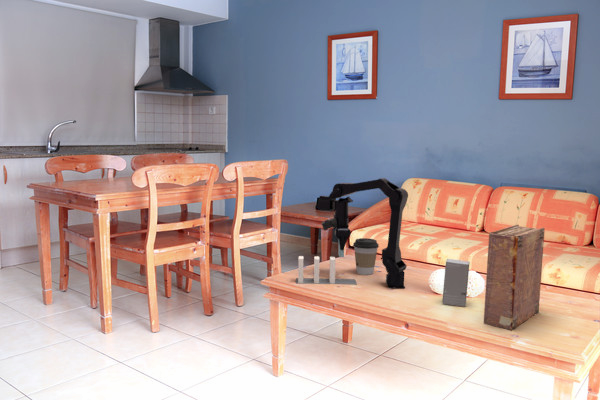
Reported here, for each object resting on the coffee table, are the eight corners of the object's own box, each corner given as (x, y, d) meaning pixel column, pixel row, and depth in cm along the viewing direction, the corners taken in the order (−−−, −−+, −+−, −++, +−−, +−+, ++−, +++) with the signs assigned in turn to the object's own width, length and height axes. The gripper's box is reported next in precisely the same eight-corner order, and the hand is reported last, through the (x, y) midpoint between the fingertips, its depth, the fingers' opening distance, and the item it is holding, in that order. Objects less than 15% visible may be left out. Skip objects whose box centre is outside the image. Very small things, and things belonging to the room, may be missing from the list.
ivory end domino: (303, 279, 220) (303, 256, 218) (303, 282, 215) (303, 258, 213) (298, 279, 220) (298, 256, 218) (298, 282, 215) (298, 258, 213)
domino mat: (355, 279, 222) (355, 279, 222) (357, 285, 214) (357, 284, 214) (295, 278, 222) (295, 277, 222) (295, 284, 214) (295, 283, 214)
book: (512, 306, 190) (517, 224, 186) (539, 312, 184) (545, 227, 180) (483, 323, 171) (488, 232, 168) (512, 331, 165) (518, 236, 161)
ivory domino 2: (334, 280, 220) (334, 256, 218) (334, 283, 215) (335, 259, 213) (329, 280, 220) (329, 256, 218) (329, 283, 215) (330, 259, 213)
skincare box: (442, 304, 190) (444, 261, 188) (443, 299, 197) (445, 257, 195) (466, 307, 187) (468, 264, 186) (467, 301, 194) (469, 259, 192)
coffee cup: (349, 270, 238) (350, 237, 236) (374, 270, 239) (375, 237, 238) (355, 276, 227) (356, 242, 225) (380, 276, 228) (382, 242, 226)
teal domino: (343, 254, 227) (343, 231, 226) (344, 257, 222) (344, 233, 221) (338, 254, 227) (338, 231, 226) (339, 257, 222) (339, 233, 221)
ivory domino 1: (318, 279, 220) (319, 256, 218) (318, 283, 215) (319, 259, 213) (313, 279, 220) (314, 256, 218) (314, 283, 215) (314, 259, 213)
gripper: (321, 210, 232) (321, 245, 234) (323, 215, 213) (323, 253, 215) (346, 210, 232) (346, 244, 234) (350, 215, 213) (350, 253, 215)
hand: (341, 248), depth 224 cm, fingers closed on teal domino, 5 cm apart
